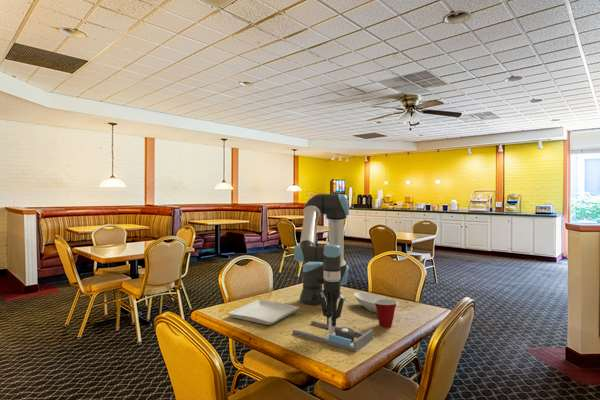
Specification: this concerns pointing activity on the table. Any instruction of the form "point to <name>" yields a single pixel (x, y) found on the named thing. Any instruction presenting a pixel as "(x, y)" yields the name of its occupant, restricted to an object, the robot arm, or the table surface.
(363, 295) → the bowl
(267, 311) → the square plate
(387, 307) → the plastic cup
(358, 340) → the gray u-shaped frame
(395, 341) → the table surface
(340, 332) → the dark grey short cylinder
